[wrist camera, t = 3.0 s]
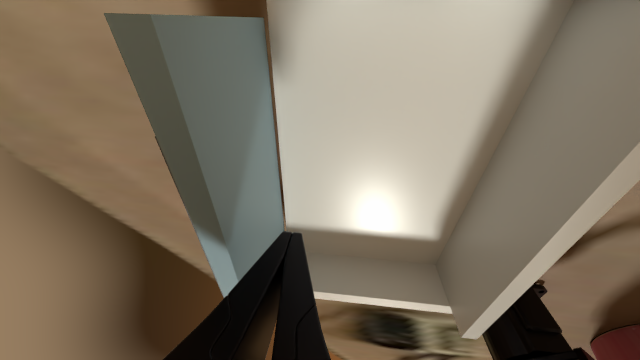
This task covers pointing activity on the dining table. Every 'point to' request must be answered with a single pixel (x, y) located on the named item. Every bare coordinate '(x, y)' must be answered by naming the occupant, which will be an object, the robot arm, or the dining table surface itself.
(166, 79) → the tailgate
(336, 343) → the dining table surface
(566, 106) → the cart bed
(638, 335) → the plant pot
